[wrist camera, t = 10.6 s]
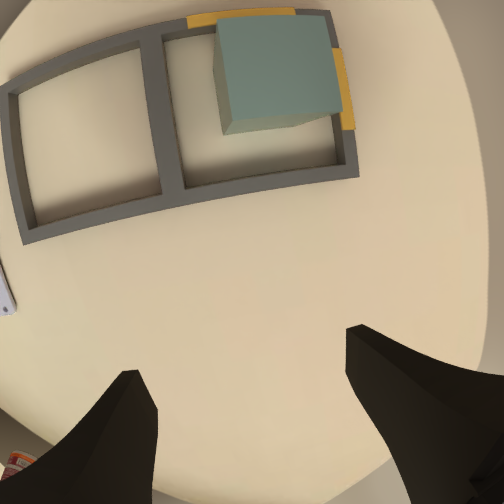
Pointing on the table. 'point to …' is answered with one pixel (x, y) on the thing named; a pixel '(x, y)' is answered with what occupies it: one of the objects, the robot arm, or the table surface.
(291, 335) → the table surface
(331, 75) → the pale teal rectangular block
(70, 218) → the dock
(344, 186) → the table surface
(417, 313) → the table surface
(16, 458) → the pill bottle
